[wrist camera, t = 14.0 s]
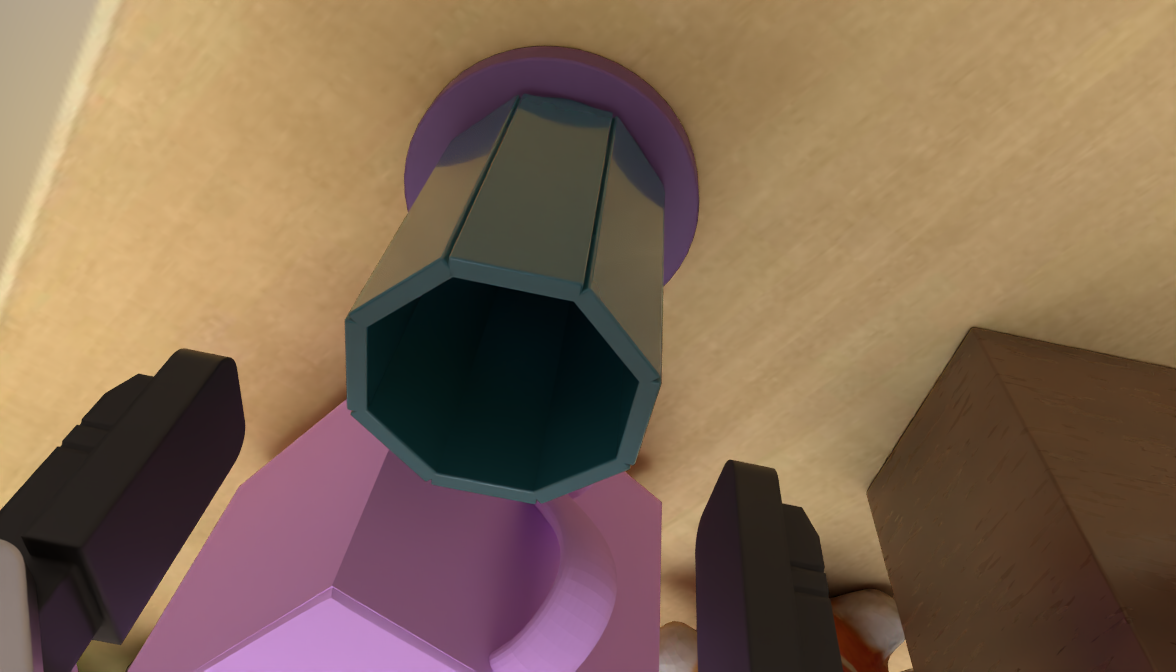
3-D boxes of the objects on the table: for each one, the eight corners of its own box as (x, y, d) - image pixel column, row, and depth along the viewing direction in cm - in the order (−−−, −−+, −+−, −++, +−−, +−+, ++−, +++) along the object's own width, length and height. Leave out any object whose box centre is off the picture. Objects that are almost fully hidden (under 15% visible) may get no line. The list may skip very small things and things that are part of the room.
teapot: (508, 246, 22) (374, 637, 12) (717, 438, 26) (745, 850, 16) (189, 511, 31) (-34, 854, 22) (379, 622, 35) (264, 955, 26)
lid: (419, 13, 18) (408, 25, 17) (735, 83, 19) (738, 96, 18) (408, 279, 23) (399, 298, 22) (659, 330, 23) (658, 350, 23)
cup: (457, 70, 18) (341, 235, 12) (682, 118, 18) (688, 305, 12) (443, 262, 21) (347, 470, 15) (632, 301, 22) (616, 520, 15)
